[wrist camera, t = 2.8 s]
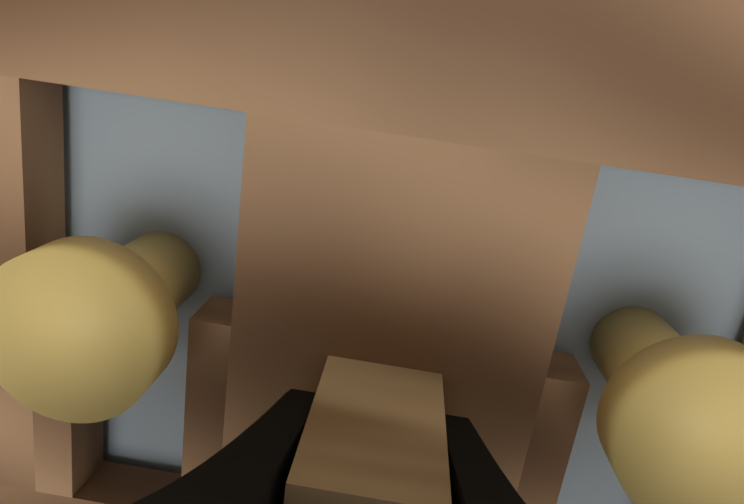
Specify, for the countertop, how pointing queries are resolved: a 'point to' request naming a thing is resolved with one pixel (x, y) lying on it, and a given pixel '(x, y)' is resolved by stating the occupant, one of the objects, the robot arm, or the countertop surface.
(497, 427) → the panel
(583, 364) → the boss board
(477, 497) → the robot arm
